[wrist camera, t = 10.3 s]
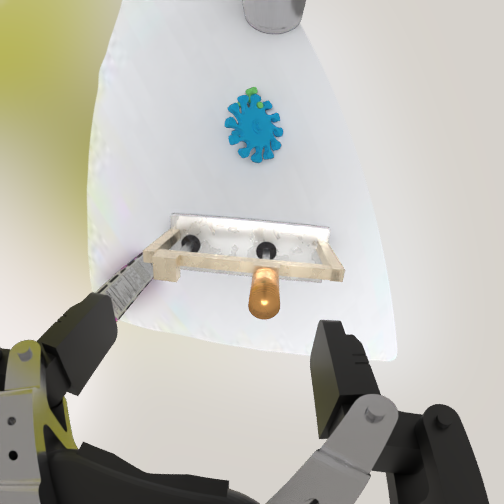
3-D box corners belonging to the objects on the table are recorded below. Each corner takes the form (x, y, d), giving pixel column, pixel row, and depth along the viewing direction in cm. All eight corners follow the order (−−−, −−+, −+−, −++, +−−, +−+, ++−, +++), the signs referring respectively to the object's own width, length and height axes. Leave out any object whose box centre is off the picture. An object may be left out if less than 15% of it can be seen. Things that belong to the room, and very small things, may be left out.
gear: (286, 164, 39) (231, 158, 33) (259, 167, 43) (205, 164, 37) (284, 95, 37) (231, 78, 30) (258, 103, 41) (206, 91, 35)
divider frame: (173, 213, 44) (136, 237, 31) (328, 227, 43) (351, 257, 30) (173, 264, 47) (142, 303, 34) (319, 279, 46) (336, 324, 33)
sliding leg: (257, 236, 42) (249, 289, 26) (277, 238, 42) (282, 292, 26) (256, 256, 44) (247, 318, 27) (275, 258, 43) (277, 321, 27)
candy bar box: (123, 300, 50) (80, 349, 35) (107, 280, 49) (59, 324, 34) (160, 272, 48) (118, 322, 32) (143, 250, 47) (94, 292, 31)
